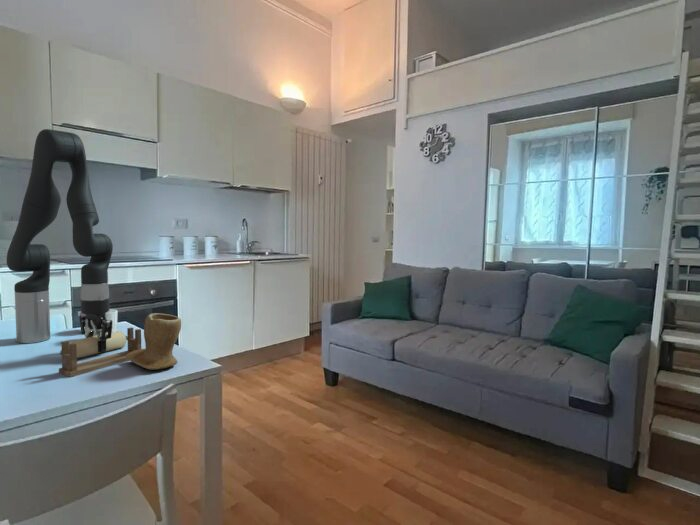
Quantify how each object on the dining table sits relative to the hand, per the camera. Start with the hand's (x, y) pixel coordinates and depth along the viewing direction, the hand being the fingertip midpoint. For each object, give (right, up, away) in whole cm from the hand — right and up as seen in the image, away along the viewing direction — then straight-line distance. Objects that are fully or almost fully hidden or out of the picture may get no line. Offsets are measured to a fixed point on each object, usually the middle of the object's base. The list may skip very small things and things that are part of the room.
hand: (96, 350), depth 126 cm
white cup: (-7, 0, +16) cm, 18 cm away
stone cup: (+23, -3, -8) cm, 25 cm away
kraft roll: (0, -1, 0) cm, 1 cm away
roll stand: (+8, -2, -9) cm, 13 cm away
